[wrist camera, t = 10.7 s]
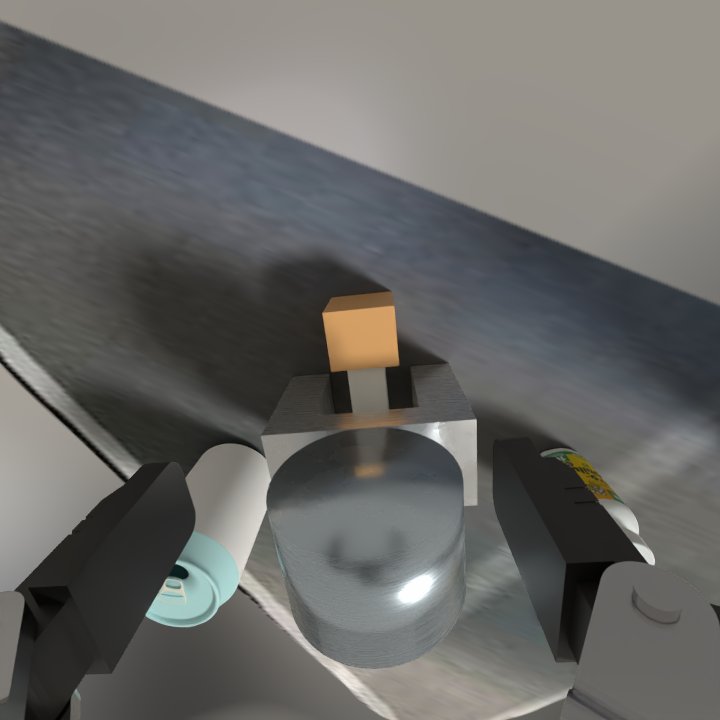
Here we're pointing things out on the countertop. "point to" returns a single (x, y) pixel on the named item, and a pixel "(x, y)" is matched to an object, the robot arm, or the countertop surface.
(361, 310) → the plug
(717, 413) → the countertop surface
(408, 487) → the cylinder
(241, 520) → the can
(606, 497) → the supplement bottle
